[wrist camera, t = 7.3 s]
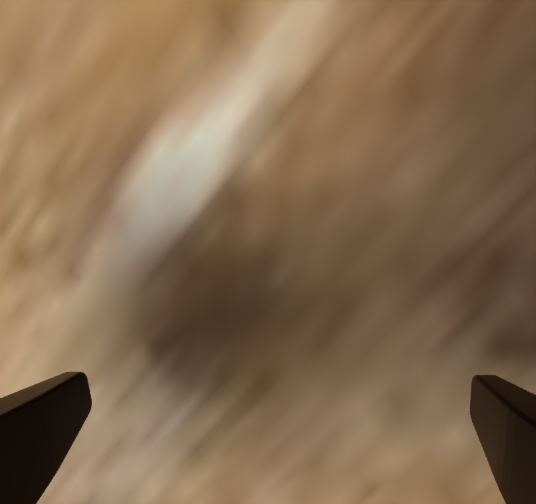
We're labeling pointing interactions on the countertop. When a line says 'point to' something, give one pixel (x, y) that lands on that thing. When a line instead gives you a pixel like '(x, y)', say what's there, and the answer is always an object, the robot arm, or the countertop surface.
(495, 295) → the countertop surface
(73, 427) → the robot arm
